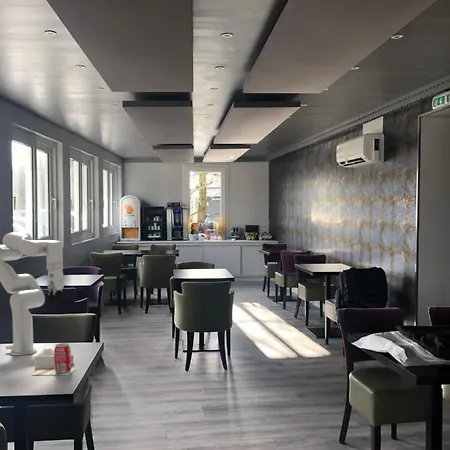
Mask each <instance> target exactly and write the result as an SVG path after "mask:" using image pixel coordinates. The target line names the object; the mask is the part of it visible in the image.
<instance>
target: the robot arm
mask: <svg viewBox="0 0 450 450" xmlns="http://www.w3.org/2000/svg"><path fill="white" fill-rule="evenodd" d="M63 246H64V245H63V242H62V241H61V240H52V239H51V240H50V239H46V240H44V239H43V240H42V239H41V240H39V239H38V240H34V239H33V238H32V235H31V234H30V233H28V232H26V231H19V232H17V231H16V232H15V231H14V232H13V231H12V232H9V233H5V234H4V236H3V237H2V244H0V283H1V285H2V287H3V288H4V290H5V291H6V292H7V293H8V294H11V296H10V298H9V304H10V308H11V314H12V315H11V316H12V341H13V342H12V344H6V345H5V349H6V350H10V351H9V353H10V355H11V356H27V355H32V354H35V353H36V352H37V347H36V348H35V347H34V328H33V327H34V326H33V322H34V321H33V315H32V313H31V312H30V311H29V309H34V308H39V307H41V306H44V304H45V300H46V297H45V294H44V292H43V290H42V288H41V287H40V285H39V284H38V282H37V279H35V277H34V275H31V274H29V273H23V274H22V273H21V274H18V273H16V272H15V270H14V268H13V267H12V266H11V265H10V264H8V262H9V261H16V260H19V259H20V258H21V257H22V256H28V257H42V256H43V257H44V256H46V271H47V289H48V291H47V292H48V304H56V303H57V301H62V300H63V288H65V287H64V286H65V283H64V271H63V269H64V257H63V256H64V255H63V254H64V253H63V250H64V249H63ZM7 261H8V262H7Z"/></svg>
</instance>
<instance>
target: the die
mask: <svg viewBox="0 0 450 450" xmlns="http://www.w3.org/2000/svg"><path fill="white" fill-rule="evenodd" d="M73 364H74V355H73V354H71V366H72V365H73Z"/></svg>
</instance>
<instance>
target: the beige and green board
mask: <svg viewBox="0 0 450 450" xmlns="http://www.w3.org/2000/svg"><path fill="white" fill-rule="evenodd" d="M75 370H76V369H75V368H71V370H70V371H69V372H67V373H57V372H56V371H55V368H42V369H37V370H36V371H35V372H33V373H32V374H31V376H32V377H39V376H41V377H42V376H45V377H46V376H47V377H49V376H51V377H52V376H70V375H71V374H73V373H74V372H75Z"/></svg>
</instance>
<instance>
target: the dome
mask: <svg viewBox="0 0 450 450" xmlns="http://www.w3.org/2000/svg"><path fill="white" fill-rule="evenodd" d="M39 353H40V356H53V355H54V350H53V348H51V347H49V346H46V347H44V348H43V349H42V352H41V351H40V352H39Z"/></svg>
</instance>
